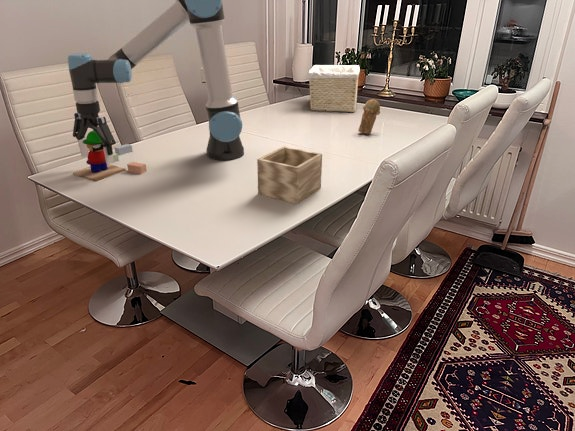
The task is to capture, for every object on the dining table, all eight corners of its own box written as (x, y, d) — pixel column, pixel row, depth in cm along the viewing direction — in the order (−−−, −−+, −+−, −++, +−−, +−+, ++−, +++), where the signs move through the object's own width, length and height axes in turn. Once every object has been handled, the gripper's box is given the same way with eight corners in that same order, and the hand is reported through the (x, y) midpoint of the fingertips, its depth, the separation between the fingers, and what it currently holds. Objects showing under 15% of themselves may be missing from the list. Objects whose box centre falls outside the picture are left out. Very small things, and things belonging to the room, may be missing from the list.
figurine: (357, 134, 220) (359, 101, 214) (361, 129, 227) (364, 98, 221) (375, 136, 217) (378, 103, 211) (379, 131, 224) (382, 99, 218)
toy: (110, 164, 180) (104, 126, 174) (117, 171, 174) (110, 131, 167) (85, 169, 176) (77, 129, 169) (91, 176, 169) (83, 135, 163)
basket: (306, 111, 259) (307, 70, 249) (311, 100, 283) (312, 62, 273) (356, 113, 255) (359, 72, 246) (357, 102, 279) (360, 64, 269)
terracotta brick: (146, 171, 176) (145, 164, 175) (141, 174, 174) (140, 166, 172) (133, 169, 178) (132, 161, 177) (128, 172, 176) (127, 164, 174)
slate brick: (128, 150, 198) (127, 143, 197) (132, 152, 196) (131, 145, 195) (115, 154, 194) (114, 147, 192) (119, 155, 192) (118, 148, 191)
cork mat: (125, 170, 177) (125, 168, 177) (96, 181, 167) (96, 179, 167) (102, 163, 183) (102, 162, 183) (73, 174, 173) (72, 172, 173)
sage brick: (119, 161, 186) (117, 154, 185) (112, 163, 184) (111, 156, 183) (110, 158, 189) (109, 151, 188) (103, 160, 187) (102, 152, 186)
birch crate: (320, 187, 163) (322, 153, 158) (296, 203, 151) (297, 168, 145) (283, 178, 170) (283, 146, 165) (258, 193, 158) (257, 159, 152)
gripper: (120, 103, 160) (129, 163, 170) (73, 94, 172) (84, 151, 182) (102, 108, 155) (112, 169, 164) (54, 98, 167) (66, 156, 176)
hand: (97, 159), depth 173 cm, fingers open, 13 cm apart
